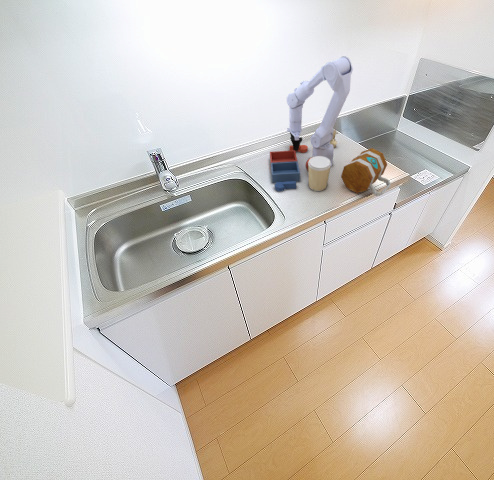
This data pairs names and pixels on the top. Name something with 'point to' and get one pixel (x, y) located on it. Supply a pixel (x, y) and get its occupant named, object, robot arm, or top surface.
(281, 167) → the blue bin
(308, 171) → the apple
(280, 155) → the red bin
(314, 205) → the top surface
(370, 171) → the mug
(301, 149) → the terracotta spoon
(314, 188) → the coffee cup
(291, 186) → the blue spoon
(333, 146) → the robot
